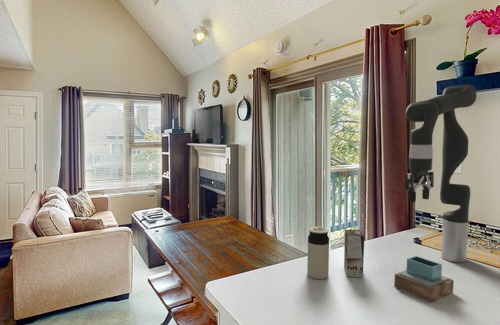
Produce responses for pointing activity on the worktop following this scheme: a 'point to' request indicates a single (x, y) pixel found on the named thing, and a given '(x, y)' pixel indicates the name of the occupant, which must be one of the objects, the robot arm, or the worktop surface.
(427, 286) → the stand
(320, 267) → the travel mug
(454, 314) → the worktop surface
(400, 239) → the worktop surface
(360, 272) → the coffee box
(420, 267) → the box
